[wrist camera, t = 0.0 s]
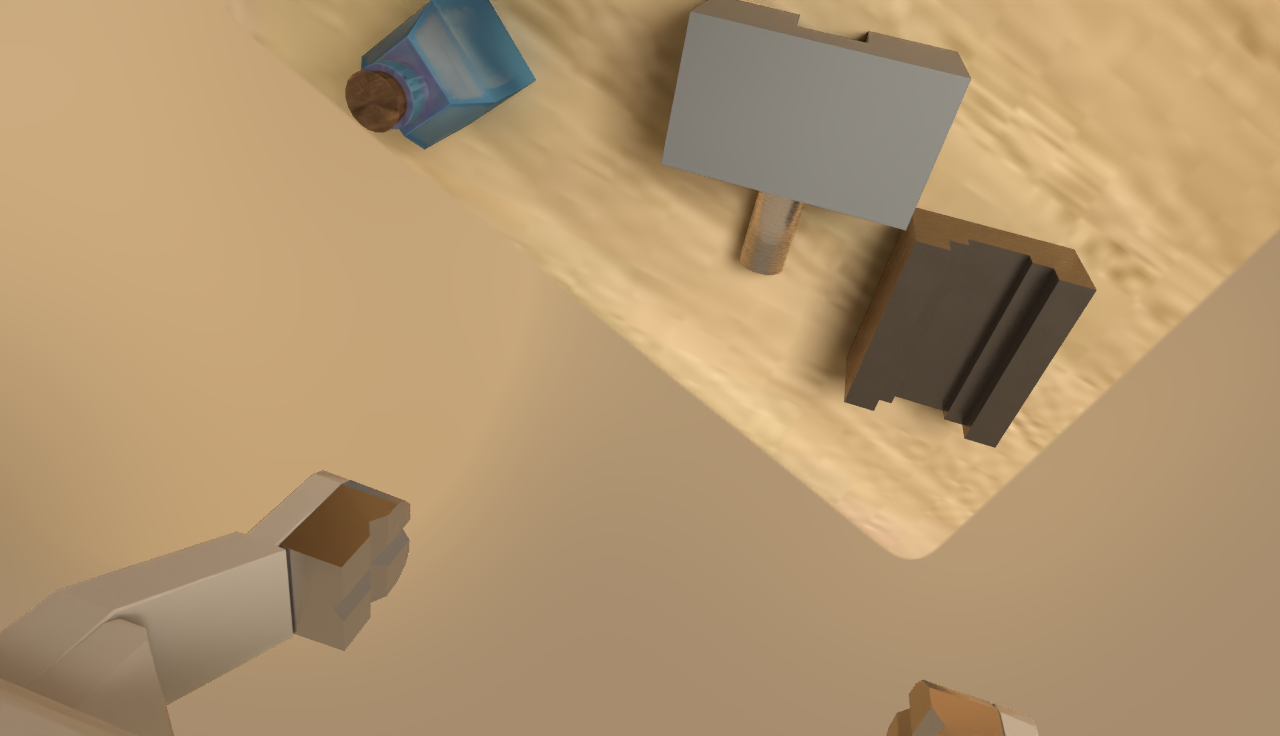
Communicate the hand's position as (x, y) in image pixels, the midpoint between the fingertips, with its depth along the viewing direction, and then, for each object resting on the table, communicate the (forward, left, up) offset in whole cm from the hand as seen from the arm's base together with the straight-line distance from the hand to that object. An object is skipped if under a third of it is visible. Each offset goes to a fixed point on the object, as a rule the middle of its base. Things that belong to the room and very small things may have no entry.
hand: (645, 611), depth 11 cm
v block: (+12, +13, -39) cm, 43 cm away
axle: (+6, 0, -39) cm, 39 cm away
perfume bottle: (+4, -22, -39) cm, 45 cm away
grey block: (+1, 0, -39) cm, 39 cm away
